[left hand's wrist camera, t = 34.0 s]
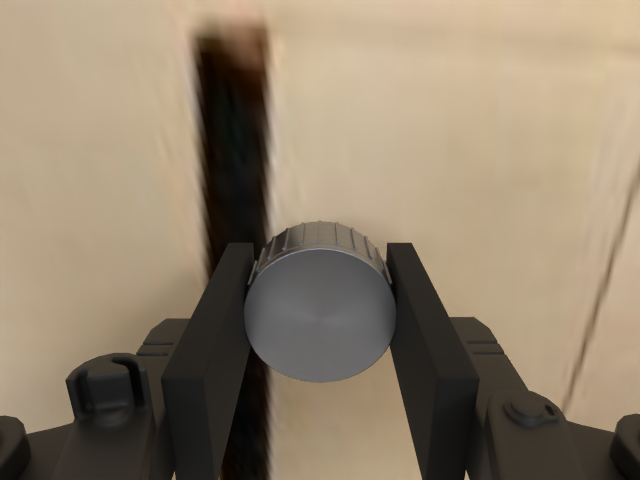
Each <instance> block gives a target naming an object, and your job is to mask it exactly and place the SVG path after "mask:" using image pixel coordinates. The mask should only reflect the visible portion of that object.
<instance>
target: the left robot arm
mask: <svg viewBox="0 0 640 480" xmlns="http://www.w3.org/2000/svg"><path fill="white" fill-rule="evenodd" d="M386 265H387V268H388V271H389V274H390V277H391V280H392V283H393V285H392V286H391V287H392V290H393V293H394V297H395V300H396V304H397V310H396V325H395V333H394V336H393V339H392V341H391V343H390V349H391V353H392V358H393V362H394V366H395V370H396V374H397V378H398V382H399V386H400V390H401V394H402V398H403V403H404V407H405V411H406V415H407V419H408V423H409V427H410V431H411V435H412V439H413V443H414V447H415V452H416V456H417V460H418V464H419V468H420V472H421V476H422V480H464V478H465V471H467V473H468V476H469V479H470V480H640V414H632V415H627V416H624V417H623V418H622V419H620V420H619V421H618V422H617V426H616V429H615V432H610V431H605V430H601V429H597V428H592V427H588V426H583V425H579V424H576V423H573V422H569V421H567V420H566V418H565V417H564V415H563V414H562V412H561V411H560V409H559V408H558V407H557V406H556V405H555V404H553V403H552V402H551V401H550V400H548V399H547V398H545V397H543V396H541V395H539V394H537V393H535V392H532V391H529V390H528V389H527V387H526V385H525V384H524V382H523V381H522V379H521V378H520V376H519V374H518V373H517V371H516V370H515V368H514V367H513V365H512V363H511V362H510V360H509V359H508V357H507V356H506V355H504V351H503V349H502V348H501V346H500V345H499V344H498V343H497V340H496V338H495V337H494V335H493V334H492V332H491V330H490V329H489V328H488V327H487V326H485V325H484V324H483V323H481V322H480V321H478V320H477V319H476V318H474V317H449V316H448V314H447V312H446V310H445V308H444V306H443V304H442V302H441V300H440V298H439V296H438V294H437V292H436V290H435V288H434V286H433V284H432V283H431V281H430V279H429V277H428V275H427V273H426V271H425V269H424V267H423V265H422V263H421V261H420V259H419V257H418V255H417V253H416V251H415V249H414V247H413V245H412V243H387V257H386ZM253 266H254V252H253V243H229V244H228V246H227V248H226V249H225V251H224V253H223V255H222V257H221V259H220V261H219V263H218V265H217V267H216V269H215V271H214V273H213V275H212V277H211V279H210V281H209V283H208V285H207V287H206V289H205V291H204V293H203V295H202V297H201V299H200V301H199V303H198V305H197V307H196V309H195V311H194V313H193V315H192V317H191V319H165V320H164V321H163V322H161V323H160V324H159V325H157V326H156V327H154V328H153V329H152V330H151V331H150V333H149V334H148V336H147V337H146V339H145V341H144V342H143V345H141V347H140V349H139V350H138V352H137V353H136V355H134V354H130V353H112V354H108V355H103V356H99V357H96V358H94V359H92V360H89V361H87V362H85V363H83V364H82V365H80V366H79V367H78V368H76V369H75V370H73V371H72V372H71V374H70V375H69V376H68V378H67V379H66V380H65V381H66V385H67V389H68V393H69V397H70V401H71V405H72V409H73V413H74V417H75V419H74V422H73V423H71V424H67V425H64V426H61V427H56V428H52V429H48V430H43V431H39V432H34V433H30V434H26V431H25V428H24V424H23V423H22V422H21V421H20V420H18V419H17V418H15V417H9V416H0V480H171V479H172V477H173V474H174V471H175V476H176V480H218V477H219V473H220V469H221V465H222V461H223V457H224V453H225V449H226V445H227V441H228V436H229V432H230V428H231V424H232V420H233V416H234V412H235V408H236V404H237V400H238V396H239V391H240V387H241V383H242V379H243V375H244V371H245V367H246V363H247V359H248V355H249V351H250V346H251V344H250V342H249V340H248V338H247V335H246V332H245V321H244V301H245V298H246V294H247V291H248V288H249V286H247V284H248V281H249V278H250V275H251V272H252V269H253Z"/></svg>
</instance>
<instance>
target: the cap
mask: <svg viewBox="0 0 640 480" xmlns="http://www.w3.org/2000/svg"><path fill="white" fill-rule="evenodd" d="M392 285H393V283H392V280H391V277H390V274H389V271H388V268H387V265H386V262H385V260H384V261H383V260H382V258H381V256H380V253H379V250H378V248H377V247H376V248H375V247H374V246H373V244H372V243H371V242H370V241H369V240H368V238H367V237H366V236H365V237H364V236H363V235H361V234H360V233H358V232H357V231H355V230H354V228H349V227H346V226H343V225H340V224H338V223H336V222H335V223H330V222H321V221H318V222H310V223H302V224H300V225H297V226H294V227H292V228H290V229H289V228H287V229H286V230H285V231H284V232H282V233H281V234H279V235H278V236H276V237H275V236H274V237H273V238H272V241H270V243H269V244H268V245H267V246H266V247H265V248H262V250H261V254H260V256H259V258H258V261H255V263H254V266H253V269H252V272H251V275H250V278H249V281H248V284H247V286H249V288H248V291H247V294H246V298H245V301H244V321H245V332H246V335H247V338H248V340H249V342H250V344H251V346H252V347H253V349H254V350H255V352H256V353H257V354H258V356H259V357H260V358H261V359H262V360H263V361H264V362H265V363H267V364H268V365H269V366H270V367H272V368H273V369H275V370H276V371H278V372H280V373H282V374H284V375H286V376H289V377H291V378H294V379H298V380H301V381H308V382H320V383H321V382H333V381H339V380H343V379H346V378H349V377H352V376H354V375H357V374H359V373H360V372H362V371H364V370H366V369H367V368H369V367H370V366H371V365H373V364H374V363H375V362H376V361H377V360H378V359H379V358H380V357H381V356H382V355H383V354H384V352H385V351H386V349H387V348H388V346H389V345H390V343H391V341H392V339H393V336H394V333H395V325H396V310H397V304H396V300H395V297H394V293H393V290H392V287H391V286H392Z"/></svg>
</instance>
